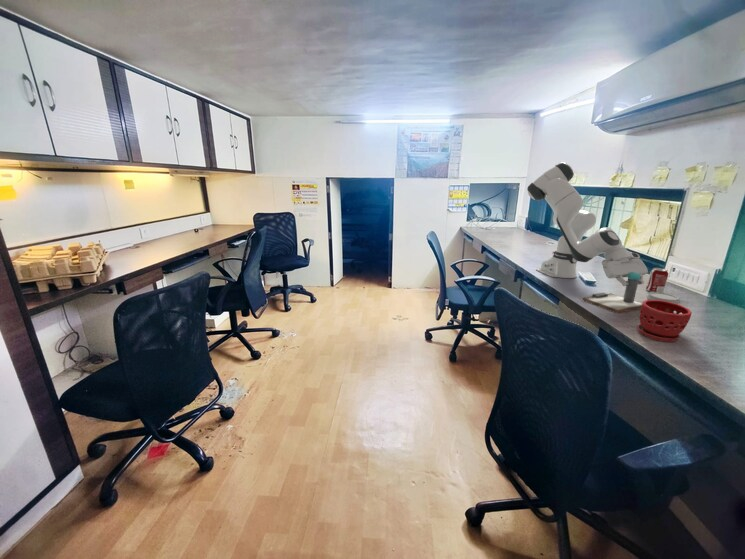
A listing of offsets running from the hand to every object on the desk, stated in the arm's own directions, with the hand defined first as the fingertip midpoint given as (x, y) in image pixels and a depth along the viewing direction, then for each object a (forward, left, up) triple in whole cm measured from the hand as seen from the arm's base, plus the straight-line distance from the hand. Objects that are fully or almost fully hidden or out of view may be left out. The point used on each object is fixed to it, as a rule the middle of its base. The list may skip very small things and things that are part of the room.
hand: (634, 284), depth 140 cm
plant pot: (+24, -23, -10) cm, 35 cm away
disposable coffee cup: (+17, -12, -10) cm, 23 cm away
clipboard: (-3, -5, -10) cm, 12 cm away
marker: (-1, 0, -8) cm, 8 cm away
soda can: (-8, +31, -10) cm, 33 cm away
